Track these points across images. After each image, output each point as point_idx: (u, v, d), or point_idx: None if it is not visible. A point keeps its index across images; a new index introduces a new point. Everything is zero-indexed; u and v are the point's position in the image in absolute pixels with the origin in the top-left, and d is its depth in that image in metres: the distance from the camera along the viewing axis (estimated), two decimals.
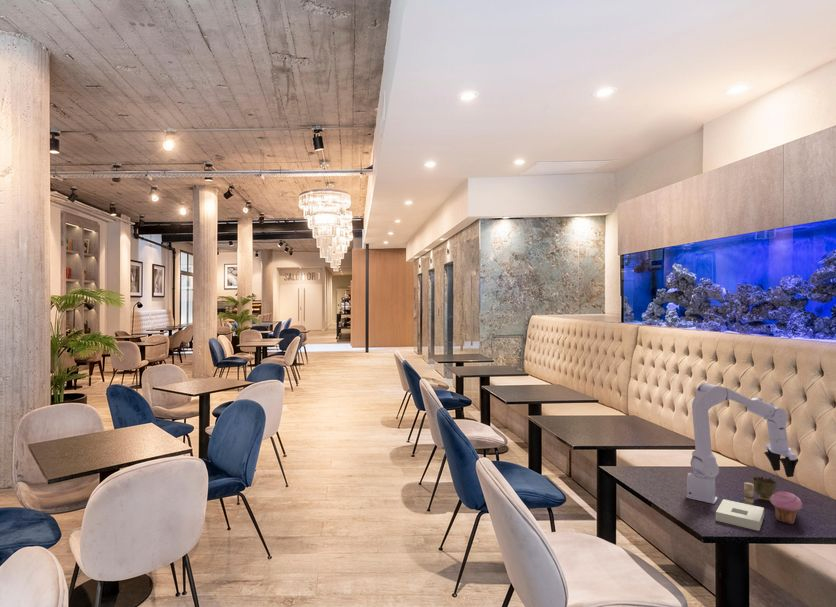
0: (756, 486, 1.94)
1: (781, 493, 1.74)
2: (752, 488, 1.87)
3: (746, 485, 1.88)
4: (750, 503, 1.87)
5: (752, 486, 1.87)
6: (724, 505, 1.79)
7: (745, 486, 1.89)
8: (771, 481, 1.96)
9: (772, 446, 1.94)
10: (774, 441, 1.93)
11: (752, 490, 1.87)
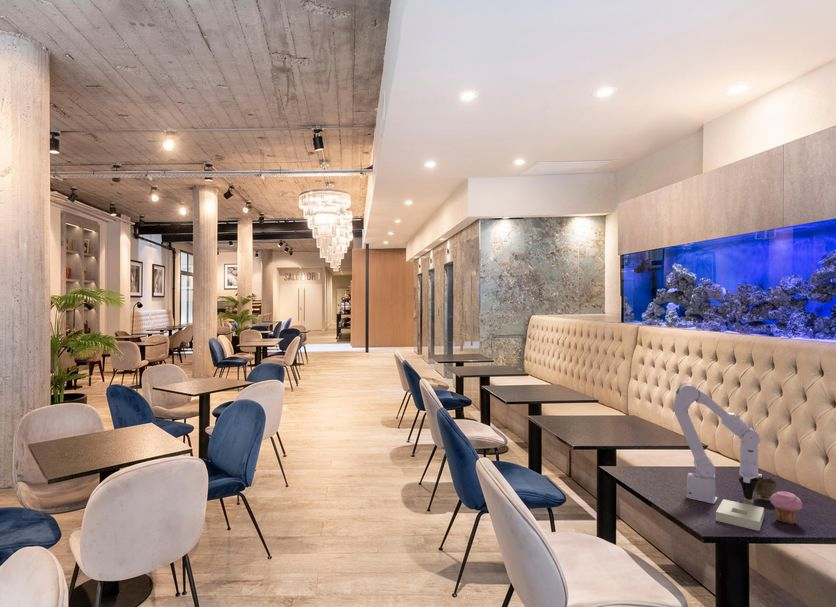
0: (756, 486, 1.94)
1: (781, 493, 1.74)
2: None
3: None
4: (750, 503, 1.87)
5: None
6: (724, 505, 1.79)
7: None
8: (771, 481, 1.96)
9: (740, 467, 1.90)
10: (740, 462, 1.89)
11: None
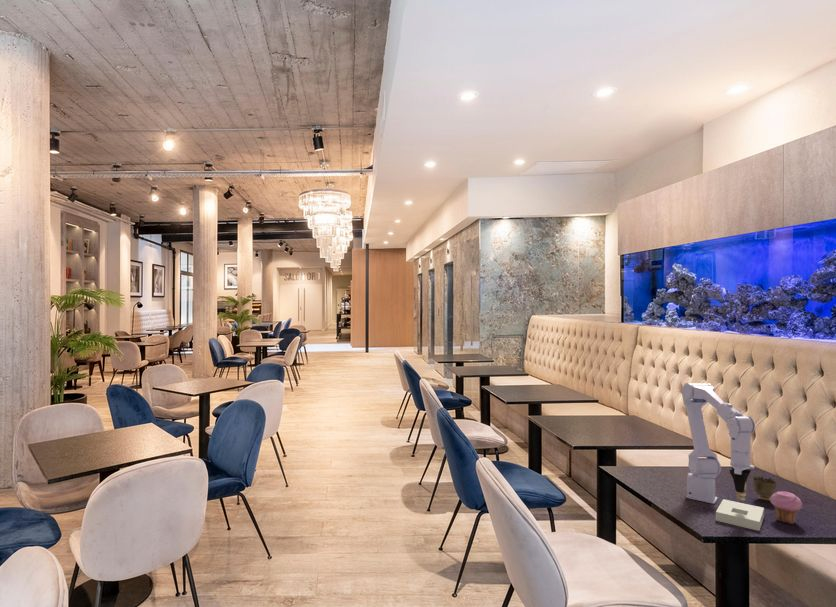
0: (756, 486, 1.94)
1: (781, 493, 1.74)
2: None
3: None
4: (742, 497, 1.74)
5: None
6: (724, 505, 1.79)
7: None
8: (771, 481, 1.96)
9: (731, 457, 1.77)
10: (731, 452, 1.76)
11: None
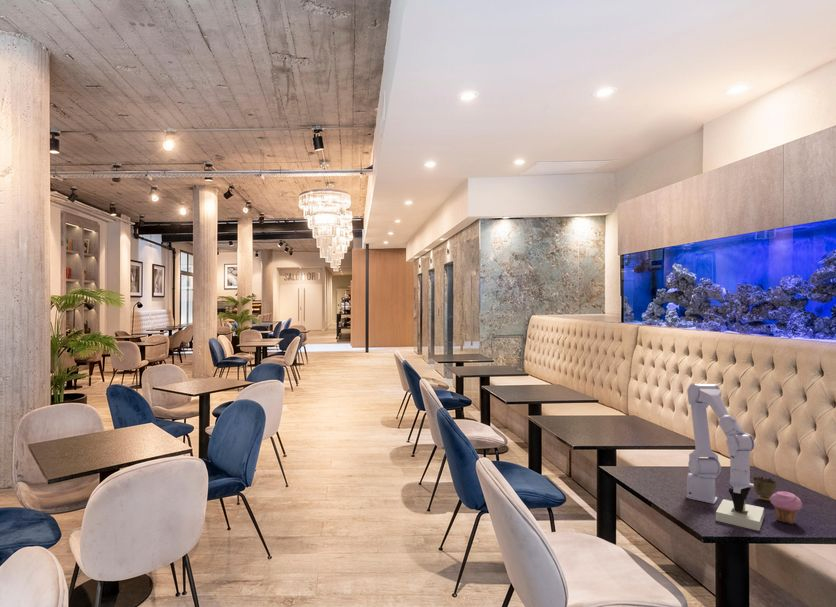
0: (756, 486, 1.94)
1: (781, 493, 1.74)
2: None
3: None
4: None
5: None
6: (724, 505, 1.79)
7: None
8: (771, 481, 1.96)
9: (730, 475, 1.76)
10: (731, 470, 1.75)
11: (744, 504, 1.73)
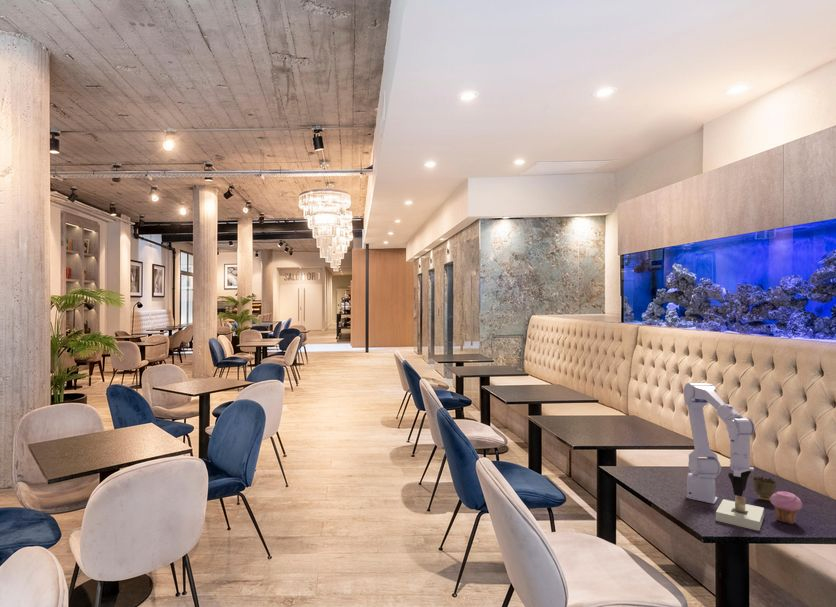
0: (756, 486, 1.94)
1: (781, 493, 1.74)
2: (744, 501, 1.73)
3: (737, 498, 1.74)
4: None
5: (744, 500, 1.73)
6: (724, 505, 1.79)
7: (736, 499, 1.74)
8: (771, 481, 1.96)
9: (730, 459, 1.76)
10: (731, 454, 1.75)
11: (744, 504, 1.73)
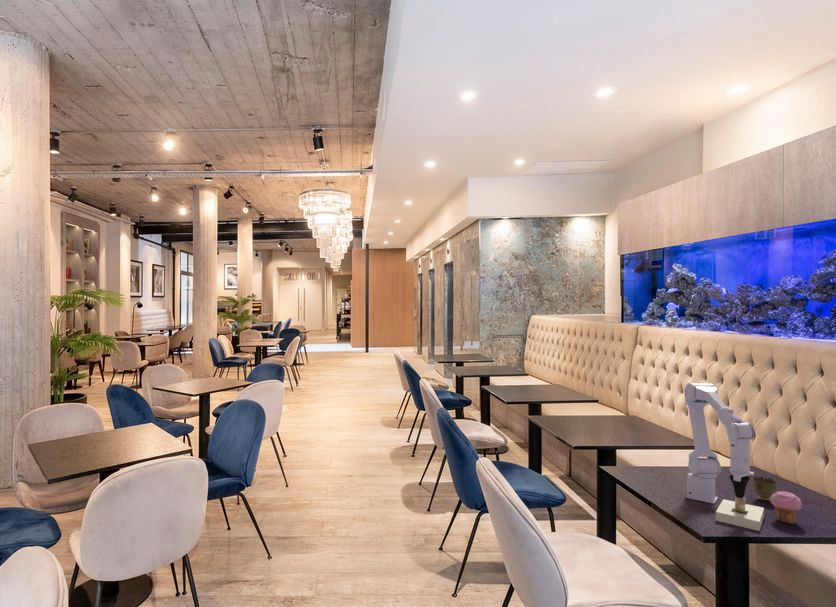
0: (756, 486, 1.94)
1: (781, 493, 1.74)
2: (744, 501, 1.73)
3: (737, 499, 1.74)
4: None
5: (744, 500, 1.73)
6: (724, 505, 1.79)
7: (736, 500, 1.74)
8: (771, 481, 1.96)
9: (730, 464, 1.76)
10: (731, 459, 1.75)
11: (744, 504, 1.73)
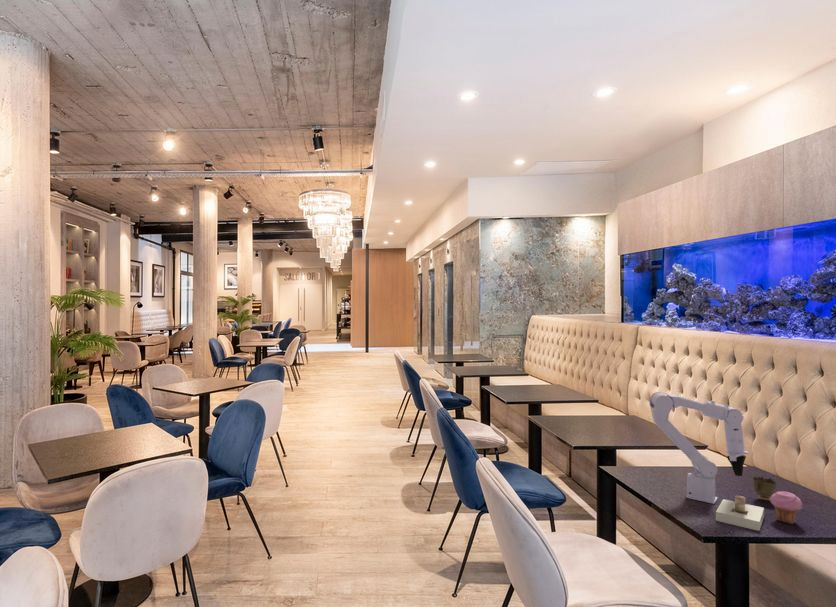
0: (756, 486, 1.94)
1: (781, 493, 1.74)
2: (744, 501, 1.73)
3: (737, 498, 1.74)
4: None
5: (744, 500, 1.73)
6: (724, 505, 1.79)
7: (736, 499, 1.74)
8: (771, 481, 1.96)
9: None
10: (726, 441, 1.93)
11: (744, 504, 1.73)
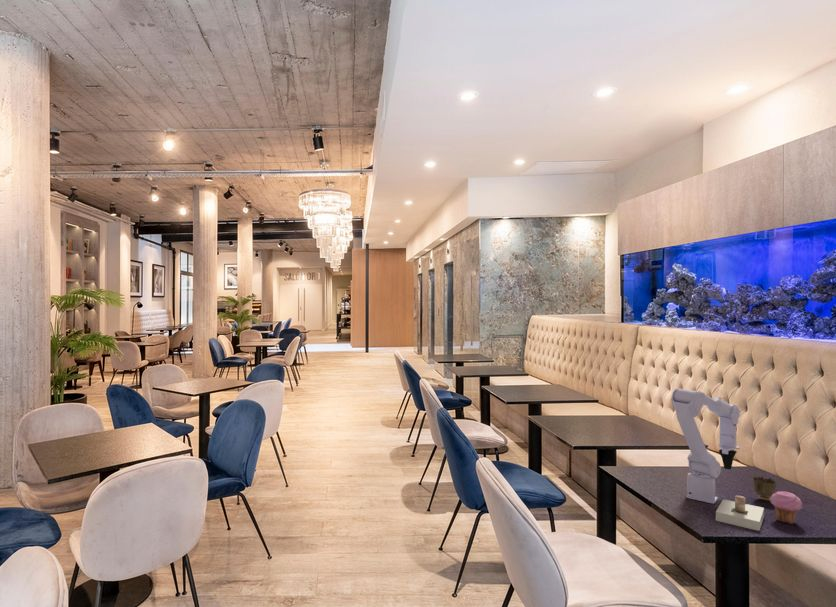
0: (756, 486, 1.94)
1: (781, 493, 1.74)
2: (744, 501, 1.73)
3: (737, 498, 1.74)
4: None
5: (744, 500, 1.73)
6: (724, 505, 1.79)
7: (736, 499, 1.74)
8: (771, 481, 1.96)
9: None
10: (720, 435, 2.02)
11: (744, 504, 1.73)
